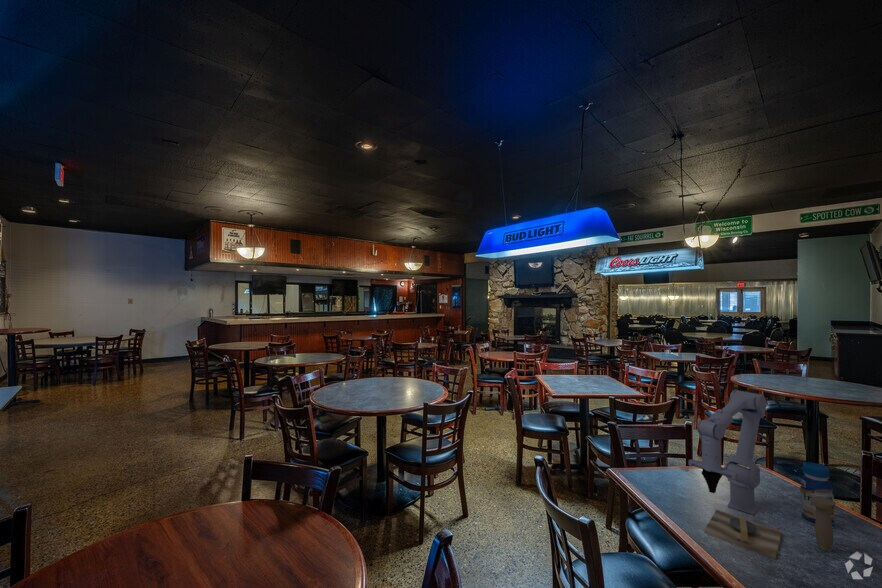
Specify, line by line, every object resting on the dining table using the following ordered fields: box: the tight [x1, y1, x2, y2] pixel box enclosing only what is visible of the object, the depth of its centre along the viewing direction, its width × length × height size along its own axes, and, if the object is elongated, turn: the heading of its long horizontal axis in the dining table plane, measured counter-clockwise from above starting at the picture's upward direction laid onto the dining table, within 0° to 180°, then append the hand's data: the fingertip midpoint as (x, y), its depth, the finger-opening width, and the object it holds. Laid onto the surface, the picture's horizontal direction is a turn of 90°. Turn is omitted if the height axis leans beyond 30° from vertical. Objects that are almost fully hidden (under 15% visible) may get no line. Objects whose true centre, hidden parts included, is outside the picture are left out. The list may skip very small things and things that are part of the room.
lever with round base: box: [730, 517, 756, 541], centre depth 122 cm, size 12×7×3 cm, turn 143°
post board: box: [704, 509, 783, 561], centre depth 124 cm, size 18×18×2 cm
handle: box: [811, 497, 836, 553], centre depth 116 cm, size 5×6×15 cm
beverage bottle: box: [799, 461, 835, 529], centre depth 131 cm, size 8×8×20 cm
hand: (712, 491), depth 134 cm, fingers closed
